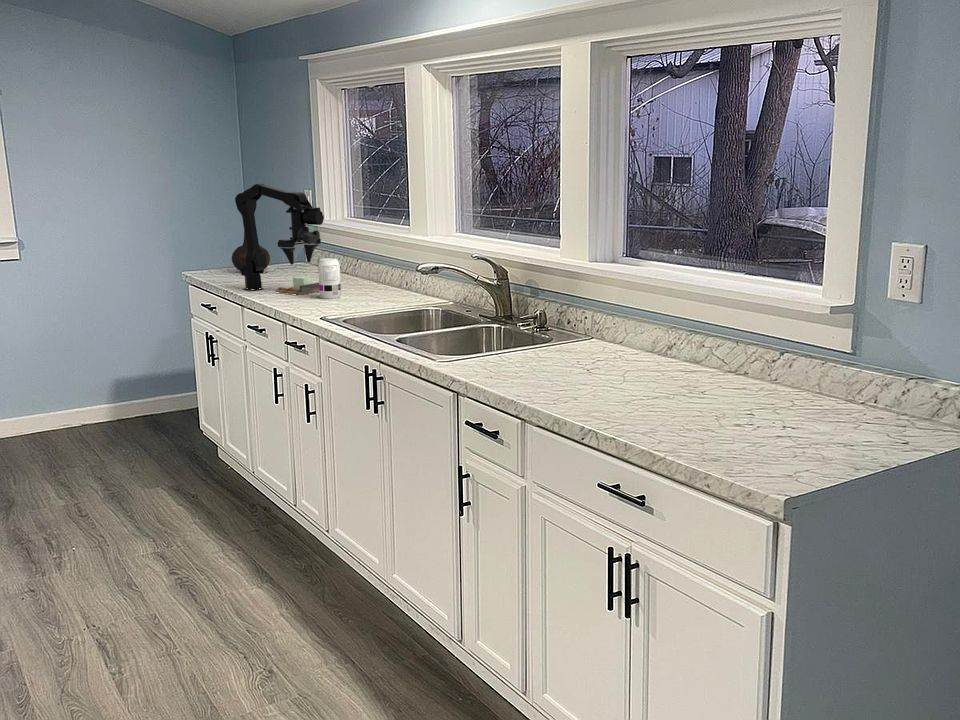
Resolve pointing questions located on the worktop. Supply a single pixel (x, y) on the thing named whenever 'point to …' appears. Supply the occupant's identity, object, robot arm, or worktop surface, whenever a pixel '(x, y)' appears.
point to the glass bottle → (240, 255)
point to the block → (301, 281)
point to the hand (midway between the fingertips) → (300, 263)
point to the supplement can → (329, 278)
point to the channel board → (301, 289)
